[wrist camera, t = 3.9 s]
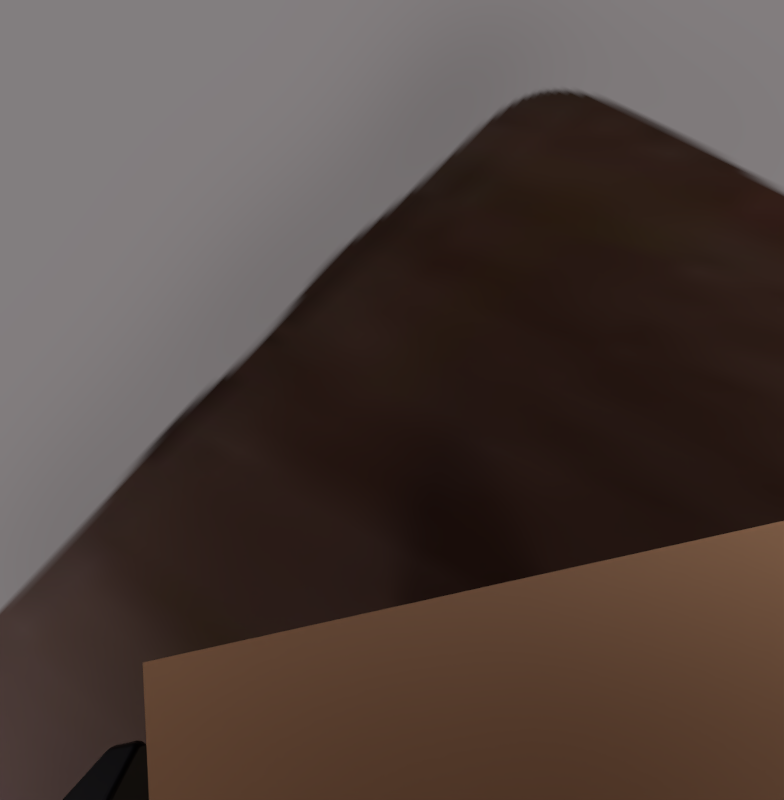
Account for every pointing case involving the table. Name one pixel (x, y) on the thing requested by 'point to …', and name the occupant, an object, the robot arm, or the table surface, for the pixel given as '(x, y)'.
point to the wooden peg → (500, 691)
